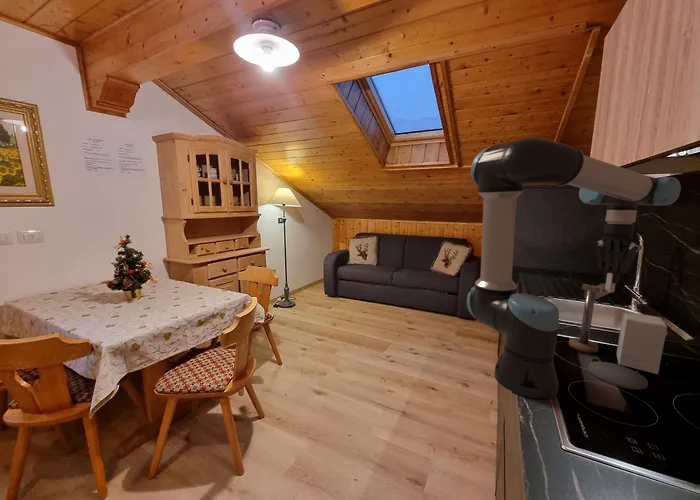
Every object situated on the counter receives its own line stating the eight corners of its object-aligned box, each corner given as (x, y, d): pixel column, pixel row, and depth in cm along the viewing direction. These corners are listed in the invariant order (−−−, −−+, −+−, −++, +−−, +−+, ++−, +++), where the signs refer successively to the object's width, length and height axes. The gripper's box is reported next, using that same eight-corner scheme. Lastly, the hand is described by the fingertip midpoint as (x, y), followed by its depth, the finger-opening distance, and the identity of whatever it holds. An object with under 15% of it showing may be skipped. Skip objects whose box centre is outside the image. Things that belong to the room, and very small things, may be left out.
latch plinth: (588, 354, 100) (588, 350, 100) (563, 343, 107) (563, 339, 107) (603, 350, 103) (604, 346, 103) (578, 340, 110) (578, 336, 110)
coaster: (630, 393, 80) (630, 391, 79) (577, 368, 91) (578, 366, 91) (658, 383, 84) (658, 381, 84) (604, 360, 96) (605, 358, 96)
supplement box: (659, 375, 89) (668, 326, 86) (618, 365, 94) (626, 318, 92) (653, 362, 96) (662, 317, 93) (615, 353, 101) (623, 310, 99)
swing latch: (591, 346, 102) (599, 288, 99) (573, 340, 106) (581, 284, 103) (608, 334, 112) (617, 281, 109) (592, 329, 116) (599, 278, 113)
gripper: (650, 224, 97) (639, 296, 101) (604, 221, 109) (595, 286, 113) (637, 224, 95) (625, 298, 98) (591, 221, 106) (582, 287, 110)
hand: (609, 291), depth 105 cm, fingers closed
